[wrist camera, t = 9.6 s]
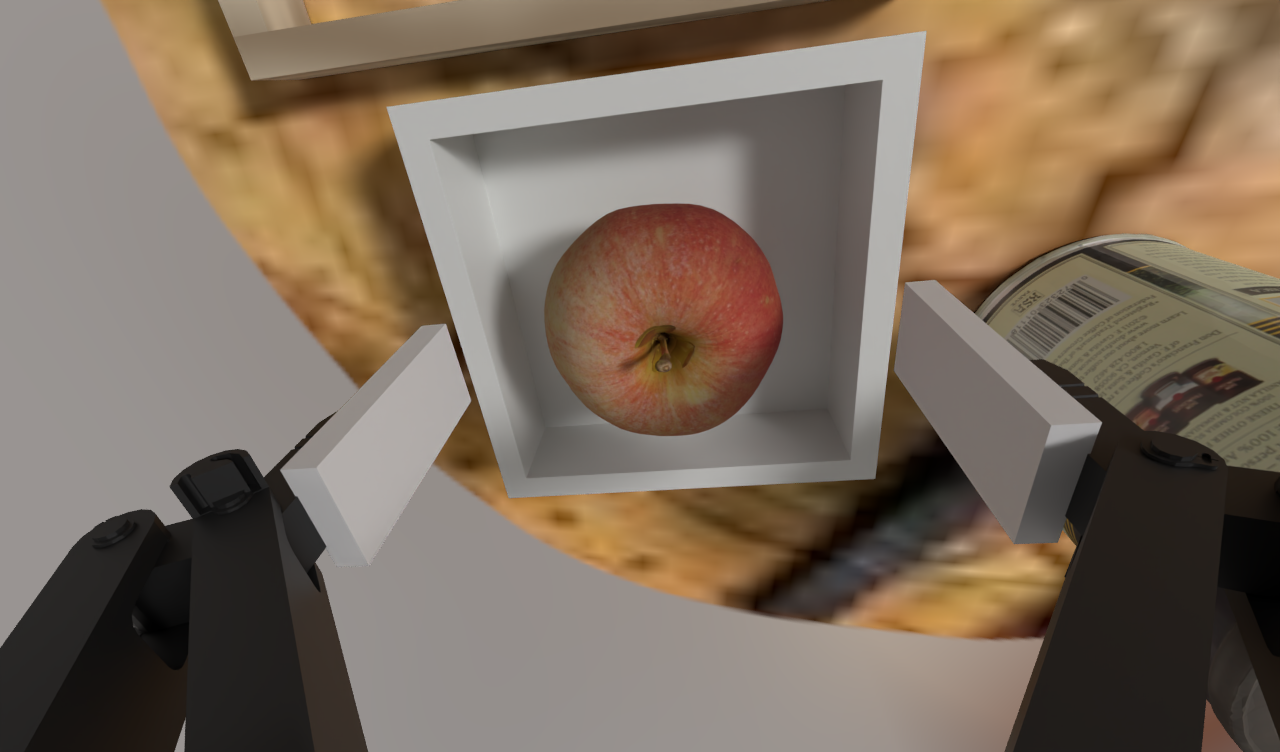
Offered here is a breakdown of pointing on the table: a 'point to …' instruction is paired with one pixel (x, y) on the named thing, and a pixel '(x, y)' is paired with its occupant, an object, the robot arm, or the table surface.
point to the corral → (441, 30)
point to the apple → (663, 318)
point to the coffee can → (1166, 380)
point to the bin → (687, 174)
